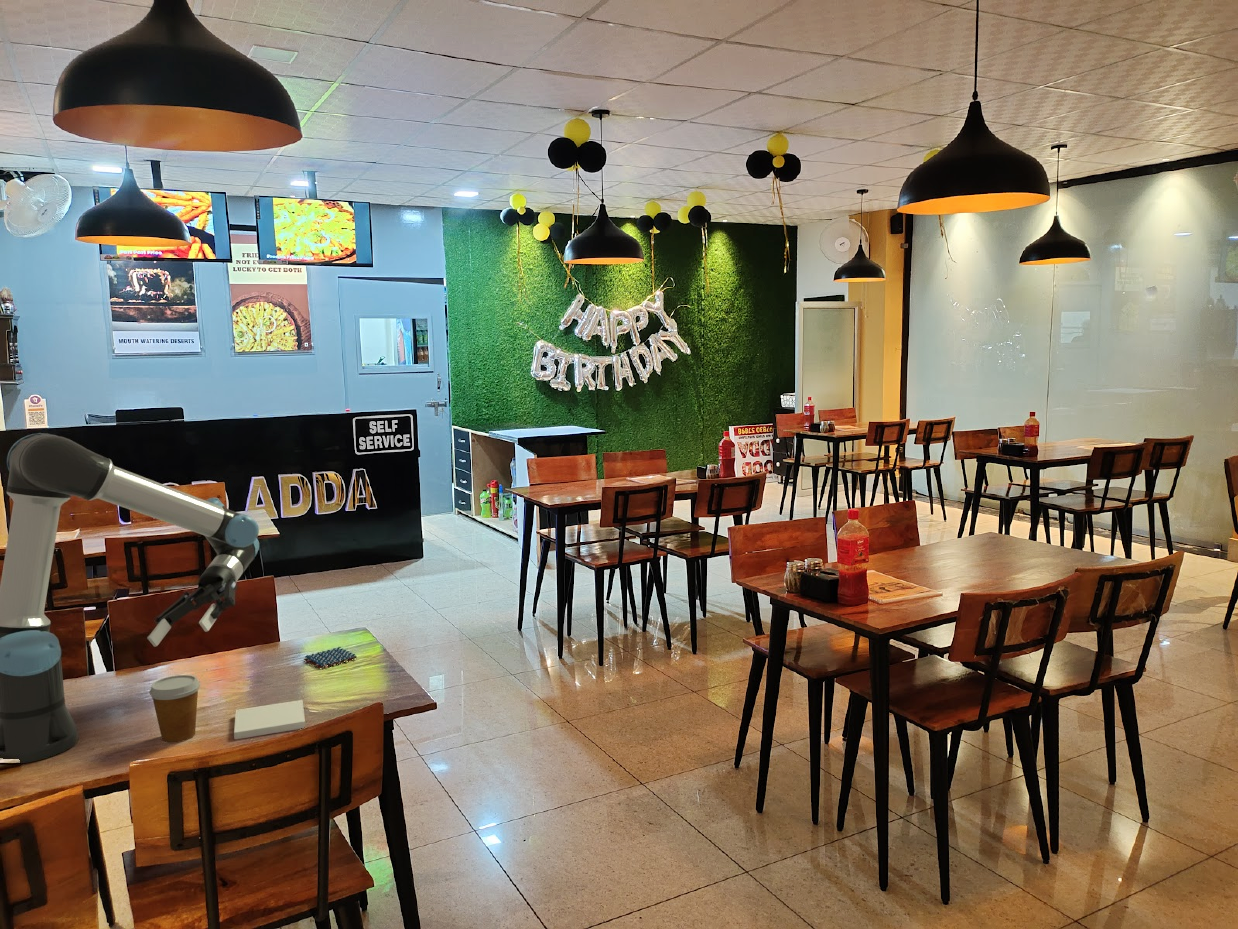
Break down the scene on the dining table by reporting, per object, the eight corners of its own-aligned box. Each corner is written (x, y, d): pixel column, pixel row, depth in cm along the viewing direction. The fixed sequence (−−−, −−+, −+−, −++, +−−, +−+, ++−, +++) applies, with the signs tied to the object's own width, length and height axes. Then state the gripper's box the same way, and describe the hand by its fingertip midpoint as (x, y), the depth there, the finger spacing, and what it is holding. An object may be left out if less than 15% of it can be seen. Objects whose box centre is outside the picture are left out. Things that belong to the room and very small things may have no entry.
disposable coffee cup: (183, 748, 177) (178, 692, 176) (142, 744, 179) (138, 689, 178) (213, 728, 187) (209, 675, 185) (174, 725, 188) (170, 672, 187)
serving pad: (234, 739, 181) (234, 732, 181) (236, 716, 193) (235, 710, 193) (305, 728, 186) (305, 721, 186) (302, 706, 198) (302, 699, 198)
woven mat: (302, 662, 228) (301, 655, 228) (339, 653, 236) (339, 645, 236) (320, 672, 221) (319, 665, 221) (358, 662, 228) (358, 654, 228)
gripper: (272, 575, 209) (234, 633, 190) (186, 602, 214) (141, 660, 195) (255, 551, 205) (215, 607, 187) (168, 578, 210) (121, 635, 192)
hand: (177, 634), depth 191 cm, fingers open, 13 cm apart
